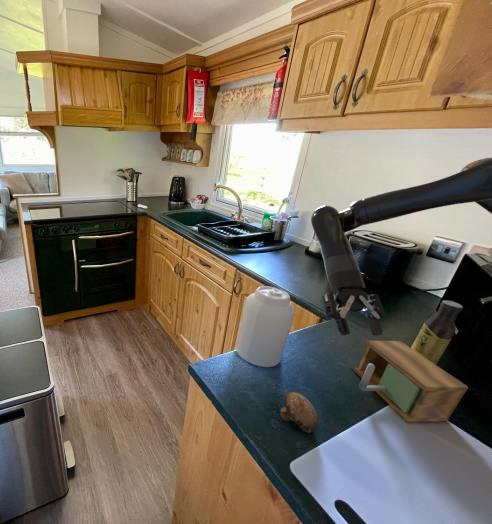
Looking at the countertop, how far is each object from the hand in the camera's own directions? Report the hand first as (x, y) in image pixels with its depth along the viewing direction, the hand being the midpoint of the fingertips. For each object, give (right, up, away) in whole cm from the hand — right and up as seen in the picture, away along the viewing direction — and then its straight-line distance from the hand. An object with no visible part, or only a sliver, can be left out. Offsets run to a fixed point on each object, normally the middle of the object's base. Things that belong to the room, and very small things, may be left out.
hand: (361, 334), depth 71 cm
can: (-21, -9, +12) cm, 26 cm away
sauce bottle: (+28, -12, +14) cm, 33 cm away
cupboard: (+9, -15, +1) cm, 18 cm away
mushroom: (-21, -17, -9) cm, 28 cm away
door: (+2, -15, -3) cm, 15 cm away
